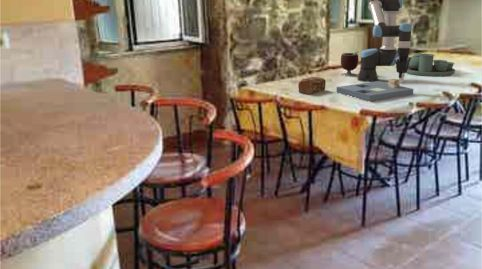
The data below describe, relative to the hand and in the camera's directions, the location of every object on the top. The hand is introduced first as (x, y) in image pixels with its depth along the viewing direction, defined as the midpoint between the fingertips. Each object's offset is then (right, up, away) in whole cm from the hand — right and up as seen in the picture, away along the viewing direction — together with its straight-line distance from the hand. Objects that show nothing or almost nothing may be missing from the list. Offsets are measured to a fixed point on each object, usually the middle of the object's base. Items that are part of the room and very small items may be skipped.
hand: (400, 82), depth 322 cm
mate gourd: (-20, +13, +66) cm, 70 cm away
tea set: (+47, +16, +73) cm, 88 cm away
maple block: (-5, -3, -1) cm, 6 cm away
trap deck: (-19, -8, -2) cm, 20 cm away
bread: (-59, -6, +8) cm, 60 cm away
